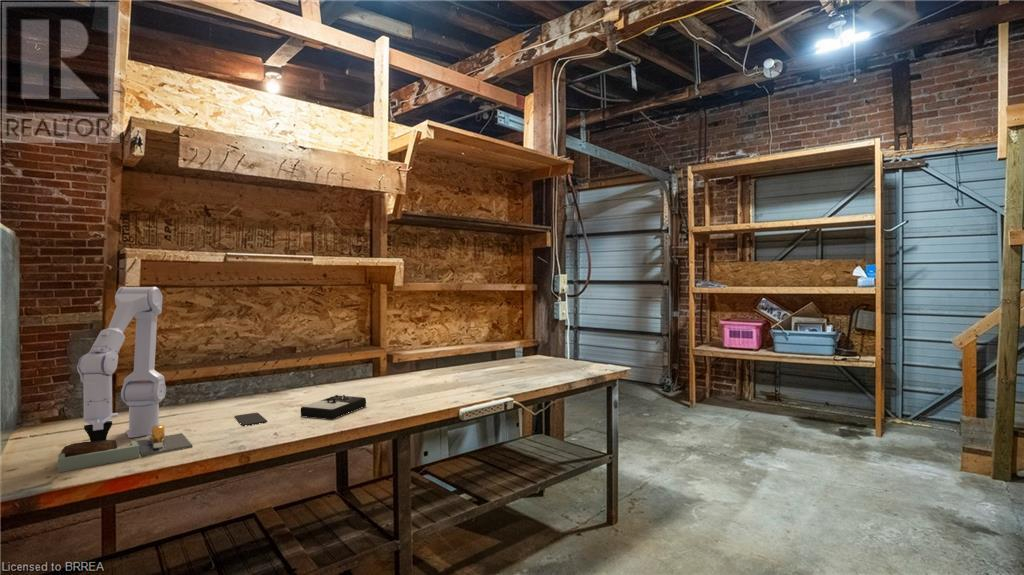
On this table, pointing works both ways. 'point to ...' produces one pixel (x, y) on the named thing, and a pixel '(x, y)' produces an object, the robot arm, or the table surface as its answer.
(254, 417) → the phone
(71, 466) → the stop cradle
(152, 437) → the crank
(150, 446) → the plate
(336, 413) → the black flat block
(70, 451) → the brick
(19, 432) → the table surface
